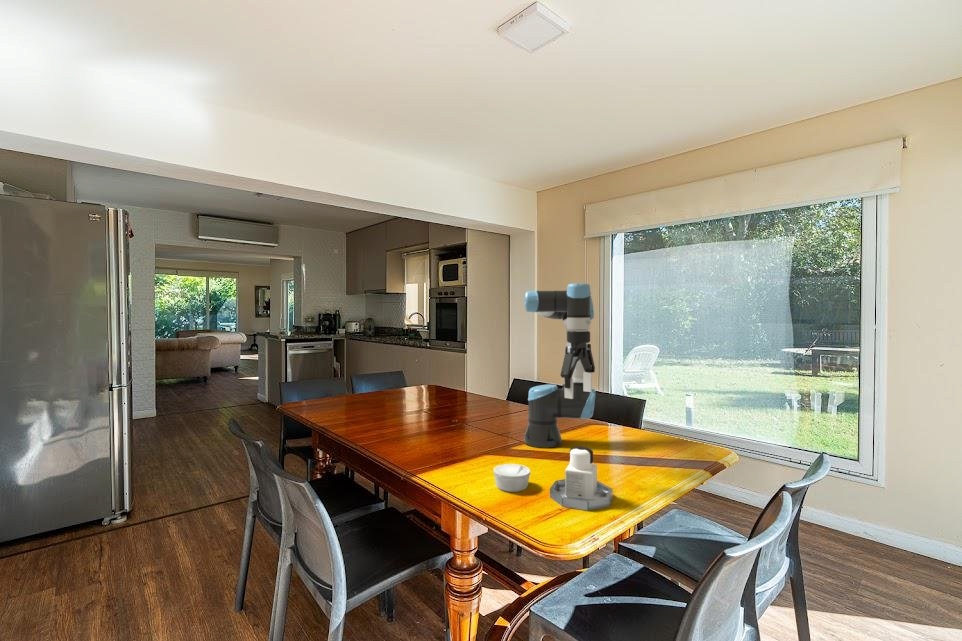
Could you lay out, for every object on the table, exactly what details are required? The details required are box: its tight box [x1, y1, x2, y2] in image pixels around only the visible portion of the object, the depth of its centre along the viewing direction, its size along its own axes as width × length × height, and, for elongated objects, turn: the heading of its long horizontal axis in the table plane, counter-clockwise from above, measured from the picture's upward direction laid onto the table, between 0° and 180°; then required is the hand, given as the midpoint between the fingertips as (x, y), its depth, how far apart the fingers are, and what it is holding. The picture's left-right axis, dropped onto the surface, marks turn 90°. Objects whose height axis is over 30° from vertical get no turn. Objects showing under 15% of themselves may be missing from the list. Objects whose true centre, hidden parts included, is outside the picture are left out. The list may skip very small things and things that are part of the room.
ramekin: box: [493, 463, 531, 493], centre depth 138 cm, size 11×11×5 cm
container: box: [564, 446, 598, 500], centre depth 130 cm, size 8×8×13 cm
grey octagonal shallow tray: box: [549, 478, 614, 511], centre depth 130 cm, size 17×17×2 cm
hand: (578, 394), depth 150 cm, fingers open, 13 cm apart
